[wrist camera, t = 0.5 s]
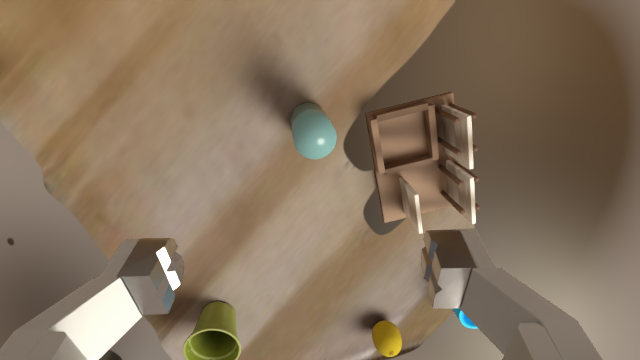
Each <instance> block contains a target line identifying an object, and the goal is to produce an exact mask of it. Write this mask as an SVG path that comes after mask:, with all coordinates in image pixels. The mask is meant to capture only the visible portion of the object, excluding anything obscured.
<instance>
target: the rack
mask: <svg viewBox="0 0 640 360" xmlns="http://www.w3.org/2000/svg"><path fill="white" fill-rule="evenodd" d="M365 114H366V121H367V127H368V133H369V138H370V144H371V150H372V156H373V162H374V168H375V174H376V180H377V186H378V192H379V197H380V204H381V210H382V216H383V221H384V222H385V223H387V222H391V221H395V220H398V219H402V218H406V217H407V218H408V219H409V220H410V222H411V223H412V225H413V226H414V227H415V229H416V230H417V232H418V233H419V234H421V233H423V230H422V222H421V214H422V213H426V212H430V211H433V210H437V209H441V208H445V207H449V206H454V207H455V208H456V209H457V210H458V211H459V212H460V213H461V214H462V215H463V216H464V217H465V218H466V219H467V220H468V221H470V222H471V223H472V224H475V223H476V215H475V209H476V210H479V209H480V206H479V205H478V204H477V203H476V202H475V193H474V181H475V182H478V181H479V178H478V177H477V176H476V175H474V174H473V173H472V172H470V171H469V170H467V169H466V168H465V167H467V168H468V169H473V151H474V152H475V151H477V150H478V147H477V146H475V145H473V144H472V122H471V118H473V119H475V118H476V117H477V114H476V113H473V112H471V111H469V110H466V109H464V108H461V107H459V106H456V105H454V93H452V92H448V93H444V94H440V95H436V96H432V97H428V98H425V99H420V100H416V101H412V102H408V103H404V104H400V105H396V106H393V107H388V108H384V109H380V110H376V111H373V112H368V113H365ZM458 162H460V163H461V164H462V165H464V166H465V167H463V166H462V165H460V164H459V163H458Z"/></svg>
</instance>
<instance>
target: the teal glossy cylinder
mask: <svg viewBox="0 0 640 360" xmlns="http://www.w3.org/2000/svg"><path fill="white" fill-rule="evenodd" d="M290 123H291V129H292V134H293V139H294V144H295V147H296V149H297V150H298V152H299V153H300V154H301V155H303V156H304V157H306V158H309V159H320V158H323V157H325V156H327V155H328V154H329V153H330V152H331V151H332V150H333V149H334V147H335V144H336V140H337V135H336V131H335V129H334V127H333V125H332V124H331V122H330V121H329V119H328V117H327V116H326V114H325V113H324V111H323V110H322V108H321V107H319V106H318V105H316V104H314V103H303V104H301V105H299V106H297V107H296V108H295V109H294V111H293V112H292V114H291V118H290Z"/></svg>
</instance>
